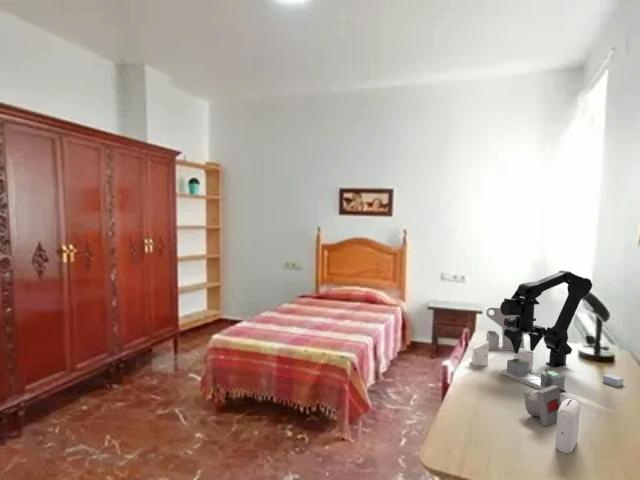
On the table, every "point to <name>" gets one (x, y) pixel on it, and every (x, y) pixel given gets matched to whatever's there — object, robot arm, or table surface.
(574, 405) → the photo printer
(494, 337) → the grey bracket with hole
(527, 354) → the block
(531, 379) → the rail
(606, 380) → the relay block
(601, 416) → the table surface
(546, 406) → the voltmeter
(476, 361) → the white angled block
